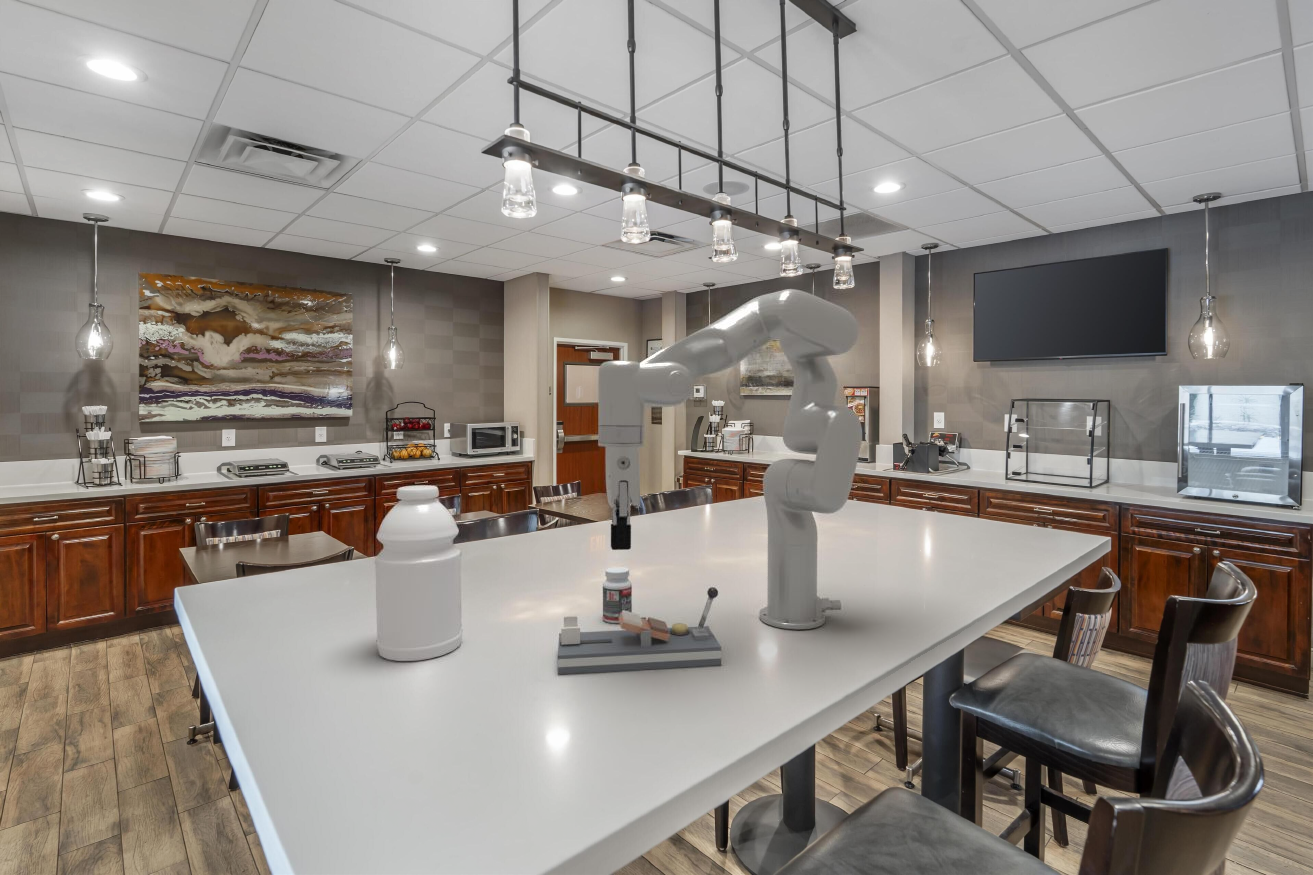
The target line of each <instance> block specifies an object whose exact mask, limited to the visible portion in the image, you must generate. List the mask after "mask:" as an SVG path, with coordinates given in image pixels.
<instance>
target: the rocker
mask: <svg viewBox="0 0 1313 875" xmlns="http://www.w3.org/2000/svg"><path fill="white" fill-rule="evenodd" d="M641 617H642V616H641V615H640V614H638V613H636V612H633V611H632V612H628V611H625V610H623V611H622V613H621V612H620V615H619V622H620V623H619V625H620V629H621V630H628V631H632V632H636V633H639V634H641V631H647V630H651V637H654V638H658V639H661V640H665V641H668V639H669V636H670V635H669V629H668V628H669V627H668V625H667V623H666V621H664V620H661V619H657V618H654V617H650V616H649V617H647V618H646V619H642V618H641Z"/></svg>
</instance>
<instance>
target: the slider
mask: <svg viewBox="0 0 1313 875" xmlns="http://www.w3.org/2000/svg"><path fill="white" fill-rule="evenodd" d="M560 626H561V632H560V633H561V645H564V644H580V632H581V622H578V615H577V614H576V615H574V614H571V615H570V614H569V615H563V623H561V625H560Z"/></svg>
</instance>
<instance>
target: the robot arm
mask: <svg viewBox="0 0 1313 875" xmlns="http://www.w3.org/2000/svg"><path fill="white" fill-rule="evenodd" d="M859 333H860V331H859V325H858V322H857V320H856V318H855V316H854V315H853V314H852V313H851V312H850V310H847V309H846V308H844V307H842V306H840V305H838V304H835V303H833V302H830V301H828V300H826V299H823V298H821V297H819V296H817V295H814V294H812V293H809V292H808V291H807V292H806V291H803V290H800V289H794V288H788V289H787V288H786V289H782V290H778V291H775V292H771V293H766V294H763V295H759V296H756V297H754V298H752V299H751V300H748V301H747V302H745V303H743V304H742V305H740V306H739V307H737V308H735V309H734V310H732V311H731V312H729V313H728V314H726V315H724V316H723V317H721V318H719V319H718V320H716V321H714V322H713V323H710V324H709V325H707V326H706V327H704V328H701V329H700V330H698V331H695V332H693V333H692V334H689V335H687V336H686V337H684V338H682V339H680V340H678V341H676V342H675V343H671V344H670V345H668V346H666V347H664V348H662V349H660V350H659V351H657V352H655V353H654V354H652V355H651V356H649V357H647V358H645V359H643V360H642V361H640V362H638V361H633V360H610V361H609V360H608V361H604V362H603V363H601V364H600V365H599V368H598V382H597V383H598V384H597V385H598V398H597V399H598V400H597V401H598V411H597V413H598V419H597V420H598V423H597V424H598V426H597V427H598V430H597V431H598V433H597V434H598V438H597V439H598V440H597V441H598V442H597V444H598V445H597V446H598V447H605V487H606V497H607V503H608V505H609V507H610V508H611V523H610V549H611V550H612V551H618V550H619V551H621V550H622V551H624V550H626V551H627V550H628V551H629V550H631V549H632V524H631V504H632V505H633V506H634V508H635V509H639V507H640V506H641V486H640V484H641V483H640V482H641V481H640V480H641V477H640V476H641V474H640V453H639V447H645V408H654V407H655V408H656V407H657V408H669V407H670V408H671V407H676V406H678V405H682V404H684V403H685V402H686V401H688V399H689V398H690V397H691V395H692V394H693V391H694V387H695V382H694V379H697V378H700V377H704V376H705V377H706V376H709V375H713V374H716V373H720V372H722V371H726V370H728V369H730V368H732V367H735V366H736V365H738V364H739V363H740V362H742V361H743V360H745V359H746V358H747V357H748V358H749V356H751V355H752V354H754V353H756V352H757V351H758V350H760V349H761V348H763V347H765V346H766V345H768V344H769V343H771V342H773V341H775V340H778V343H779V347H780V348H781V350H782V352H783V354H784V355H785V358H786V359H787V360H788V362H789V364H790V367H791V369H792V373H793V386H792V391H791V396H790V401H789V404H788V407H787V413H786V416H785V421H784V425H783V428H782V440H783V443H784V446H785V447H787V449H788V450H789V451H791V452H794V453H798V454H804V455H813V456H815V460H809V459H802V458H801V459H800V458H783V459H779V460H776V461H774V462H772V463H771V464H770V465H769V466H768V467H767V468H766V470H765V472H764V474H763V476H762V477H763V478H762V492H763V498H764V502H765V507H766V508H765V509H766V517H767V518H766V520H767V605H766V606H764V607H763V608H761V609H760V611H759V613H758V614H759V619H760V620H761V622H763V623H764V624H767V625H769V626H772V627H774V628H780V629H786V630H787V629H788V630H810V629H815V628H819V627H821V626H823V625H824V624H825V622H826V615H825V614H824V613H826V611H841V610H842V602H841V600H840V599H836V600H835V599H831V600H830V598H828V597H825V598H824V597H823V598H821V597H820V596H819V595H818V538H819V537H818V527H817V522H816V519H815V517H814V514H813V513H819V514H826V515H827V514H828V515H830V514H833V513H837V512H839V511H840V510H841V509H842V508H843V507H844V506H845V505H846V502H847V501H848V499H849V496H850V494H851V489H852V485H853V481H854V477H855V473H856V468H857V464H858V461H859V457H860V456H859V455H860V453H861V452H860V451H861V447H862V442H863V429H862V424H861V421H860V418H859V416H858V415H857V413H856V412H855V411H854V410H853V409H851V408H850V407H848V406H844V405H838V404H836V405H835V402H836V400H837V399H836V397H837V393H838V379H837V376H836V372H835V371H834V369H833V368H834V367H832V364H831V363H830V362H829V359H828V358H827V357H830V356H840V355H842V354H845V353H848V352H849V351H851V350H852V349H853V348H854V346H855V345H856V344H857V342H858V338H859Z"/></svg>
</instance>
